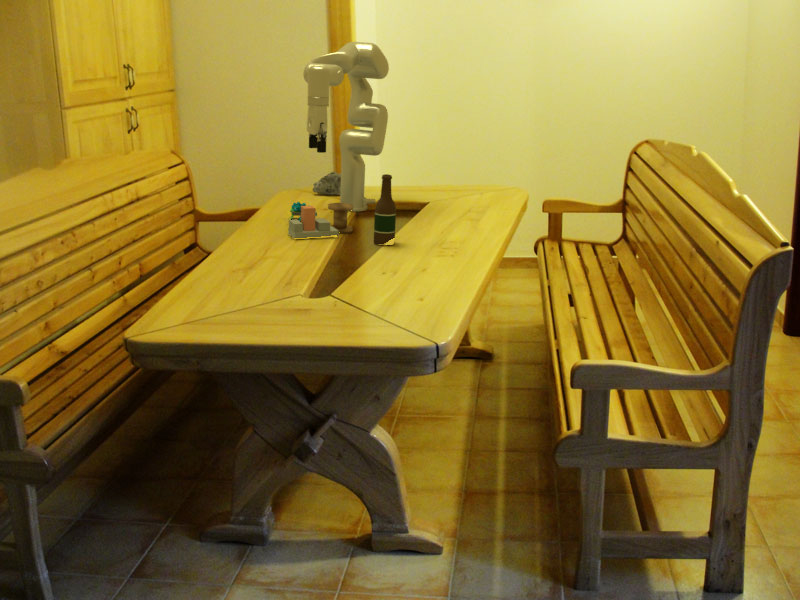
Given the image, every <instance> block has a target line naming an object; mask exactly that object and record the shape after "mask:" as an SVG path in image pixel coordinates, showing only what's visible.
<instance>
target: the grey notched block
mask: <svg viewBox="0 0 800 600" xmlns="http://www.w3.org/2000/svg"><path fill="white" fill-rule="evenodd" d="M330 225H331V221H329V220H327V219H326V218H324V217H321V218H320V217H319V218H315V231H303V224H302V223H301V222H300V221H299V219H297V218H296V219H292V220H290V219H288V228H287V231H288V232H287V233H288V234H289V235H290V236H292V237H293V238H307V237H321V236H331V235H337V236H338V238H339V235H340V234H339V231H338V230H337V229H335V228H334V227H333V226H330ZM288 234H287V235H288ZM289 235H288V236H289ZM290 236H289V237H290ZM292 237H291V238H292ZM293 238H292V239H293Z"/></svg>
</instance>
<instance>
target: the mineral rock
mask: <svg viewBox="0 0 800 600" xmlns="http://www.w3.org/2000/svg"><path fill="white" fill-rule="evenodd" d="M311 190H312V192H313V193H316V194H320V195H326V196H332V195H335V196H336V195H338V196H340V193H341V173H337V172H336V171H331V172H329V173H328V174H326V175H324V176H323V177H321V178H320V179H319V180H318V181H317V182H314V183H313V188H312V189H311Z"/></svg>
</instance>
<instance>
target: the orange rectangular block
mask: <svg viewBox="0 0 800 600" xmlns="http://www.w3.org/2000/svg"><path fill="white" fill-rule="evenodd" d="M315 210H316V207H315V206H313V205H310V206H308V205H306V206H301V223H302V224H303V231H315V219H316V217H315V212H316V211H315Z"/></svg>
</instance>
